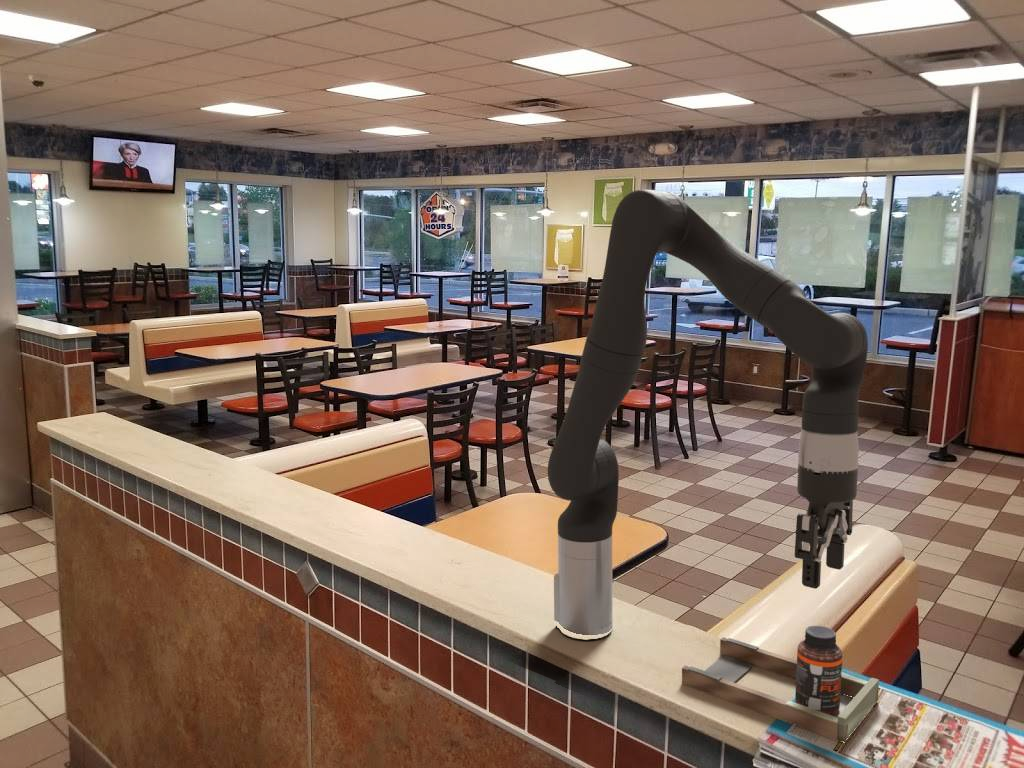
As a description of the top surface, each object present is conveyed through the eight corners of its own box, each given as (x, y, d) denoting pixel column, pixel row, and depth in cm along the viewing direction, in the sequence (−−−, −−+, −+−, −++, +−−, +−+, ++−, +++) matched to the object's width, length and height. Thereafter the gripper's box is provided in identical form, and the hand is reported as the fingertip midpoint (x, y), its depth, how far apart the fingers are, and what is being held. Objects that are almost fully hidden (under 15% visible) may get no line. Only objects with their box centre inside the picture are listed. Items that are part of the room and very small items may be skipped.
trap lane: (681, 683, 122) (682, 661, 121) (723, 651, 131) (723, 631, 131) (844, 743, 106) (845, 718, 105) (877, 702, 115) (878, 679, 115)
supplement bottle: (823, 723, 111) (826, 645, 109) (786, 704, 115) (788, 629, 114) (848, 708, 114) (852, 632, 112) (811, 691, 119) (813, 618, 117)
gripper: (820, 448, 117) (816, 556, 119) (778, 468, 107) (774, 586, 109) (874, 456, 112) (868, 568, 114) (836, 478, 102) (830, 600, 104)
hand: (822, 576), depth 112 cm, fingers open, 8 cm apart
